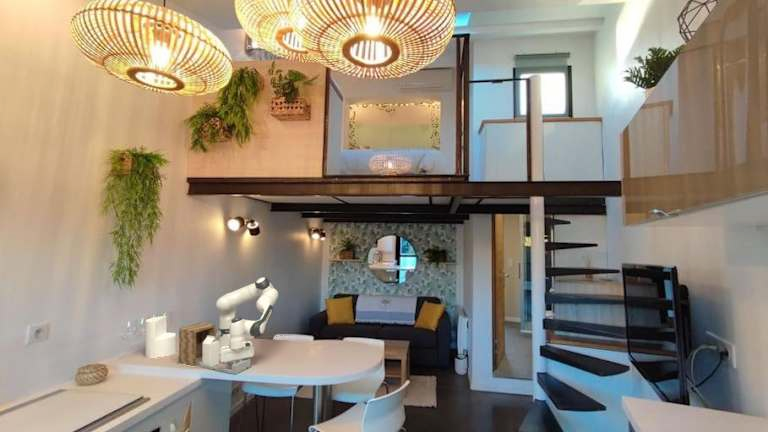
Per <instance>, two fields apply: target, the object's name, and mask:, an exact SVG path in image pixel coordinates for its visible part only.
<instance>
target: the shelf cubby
mask: <svg viewBox="0 0 768 432" xmlns="http://www.w3.org/2000/svg"><path fill="white" fill-rule="evenodd" d="M207 335H208V336H215V337H216V324H213V323H205V322H198V323H195V324H194V323H193V324H191V325H188V326H185V327H184V326H183V327H181V328H179V329H178V337H179V338H178V341H179V342H178V344H179V345H178V350H179V351H178V357H179V359H178V360H179V361H178V362H179V363H181V364H186V365H190V366H196V367H197V360H198V359H200V358H201V359H203V346H202V343H203V342H204V340H205V339H206V338H207ZM197 358H198V359H197Z"/></svg>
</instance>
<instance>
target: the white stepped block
mask: <svg viewBox="0 0 768 432" xmlns="http://www.w3.org/2000/svg"><path fill="white" fill-rule="evenodd" d="M176 353H177V333H176V332H167V315H162V316H156V317H155V316H154V317H151V318H147V319H146V320H145V358H146V357H150V358H155V359H158V358H157V357H163V358H165V357H164V356H167V357H170V356H173V355H174V354H176ZM172 354H173V355H172ZM169 355H170V356H169ZM150 358H149V359H150Z"/></svg>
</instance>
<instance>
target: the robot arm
mask: <svg viewBox="0 0 768 432" xmlns="http://www.w3.org/2000/svg"><path fill="white" fill-rule="evenodd" d="M258 297H259V298H258ZM256 298H258V299H257V301H256V303H255V305H256V308H257V311H259V312H260V313H262V315H261V317H260V319H257V320H250V319H244V318H243V317H240V316H239V317H236V313H237V307H238V306H240V305H242V304H244V303H246V302H249V301H251V300H253V299H256ZM278 298H279V292H278V290H277V289H275V287H274V285H273V284H272V283H271V282H270V279H269V278H268V277H266V276H262V277H259V278H258V279H257V280H256V281H255V282H253V283H250V284H248V285H245V286H242V287H241V288H238V289H236V290H233V291H231V292H227V293H225V294H223V295H222V296H220V297H219V298H217V300H216V304H215V305H216V309H217V310H218V311H220V314H219V318H218V319H219V320H218V321H219V326H218V327H219V328H218V341H219V359H220V362H219V363H221V364H222V363H223V362H228V361H233V363H234V364H236V363H235V362H237V361H238V362H240V361H243V360H244V359H250V358H253V357H254V356H255V351H254V350H255V349H254V347H253V342H252V341H251V340H248V339H247V338H246V336H248V337H253V338H260V337H262V336H263V334H264V333H265V331H266V327H267V326H268V323H269V321H270V319H271V317H272V315H273V312H274V306H275V304H276V302H277V300H278ZM242 359H243V360H242ZM223 364H224V363H223Z"/></svg>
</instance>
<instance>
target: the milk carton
mask: <svg viewBox="0 0 768 432" xmlns="http://www.w3.org/2000/svg"><path fill="white" fill-rule="evenodd" d="M202 346H203V358H202V361H203V364H206V365H210V366H214V365H215V366H217V365H216V364H218V365H220V362H219V359H220V354H219V350H220V349H219V339H217V338H216V335H215V336H208V335H207V338H206V339H205V340H204V342H203V343H202Z"/></svg>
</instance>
